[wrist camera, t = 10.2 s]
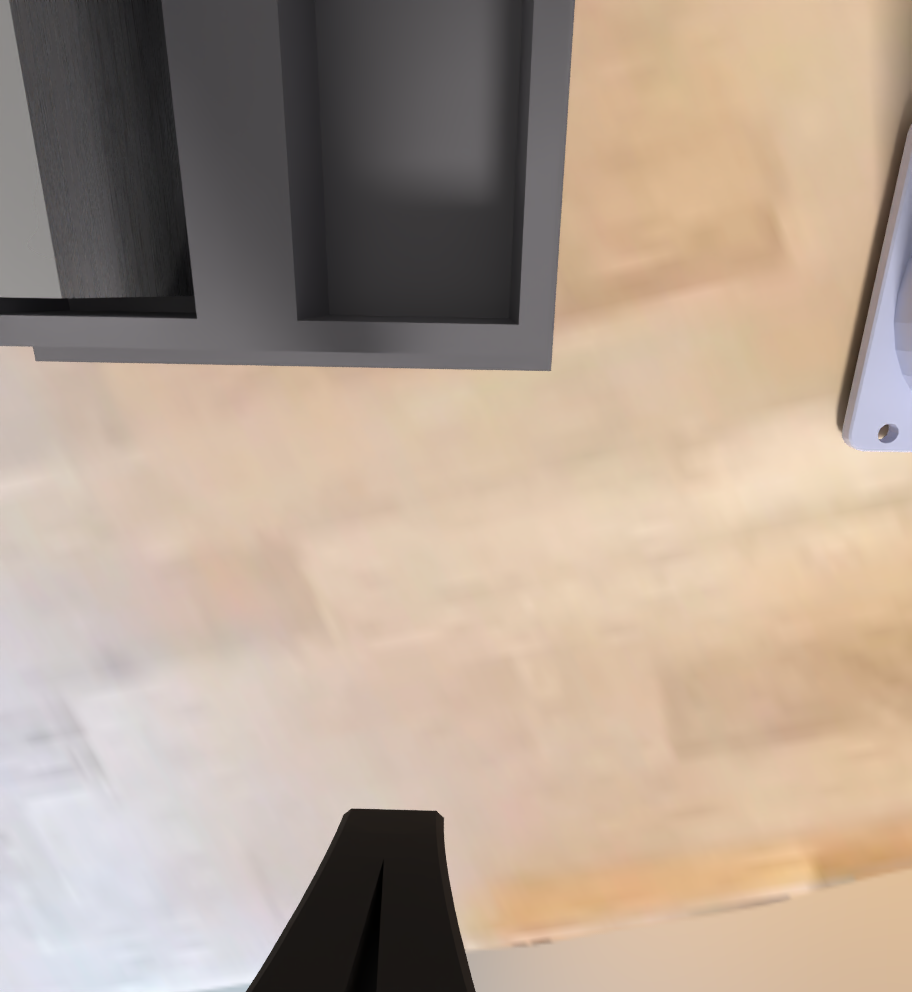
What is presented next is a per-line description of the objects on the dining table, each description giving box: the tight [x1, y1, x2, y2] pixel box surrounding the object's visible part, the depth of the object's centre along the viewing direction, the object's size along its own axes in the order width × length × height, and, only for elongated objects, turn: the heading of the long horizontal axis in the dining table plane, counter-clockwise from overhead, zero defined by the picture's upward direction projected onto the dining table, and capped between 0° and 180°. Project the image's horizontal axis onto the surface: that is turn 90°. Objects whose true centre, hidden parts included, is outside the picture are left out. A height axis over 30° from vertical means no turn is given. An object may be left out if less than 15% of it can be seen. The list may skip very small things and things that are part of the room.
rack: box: [0, 0, 575, 371], centre depth 13 cm, size 13×12×4 cm
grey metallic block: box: [0, 0, 194, 298], centre depth 11 cm, size 3×8×6 cm, turn 179°
